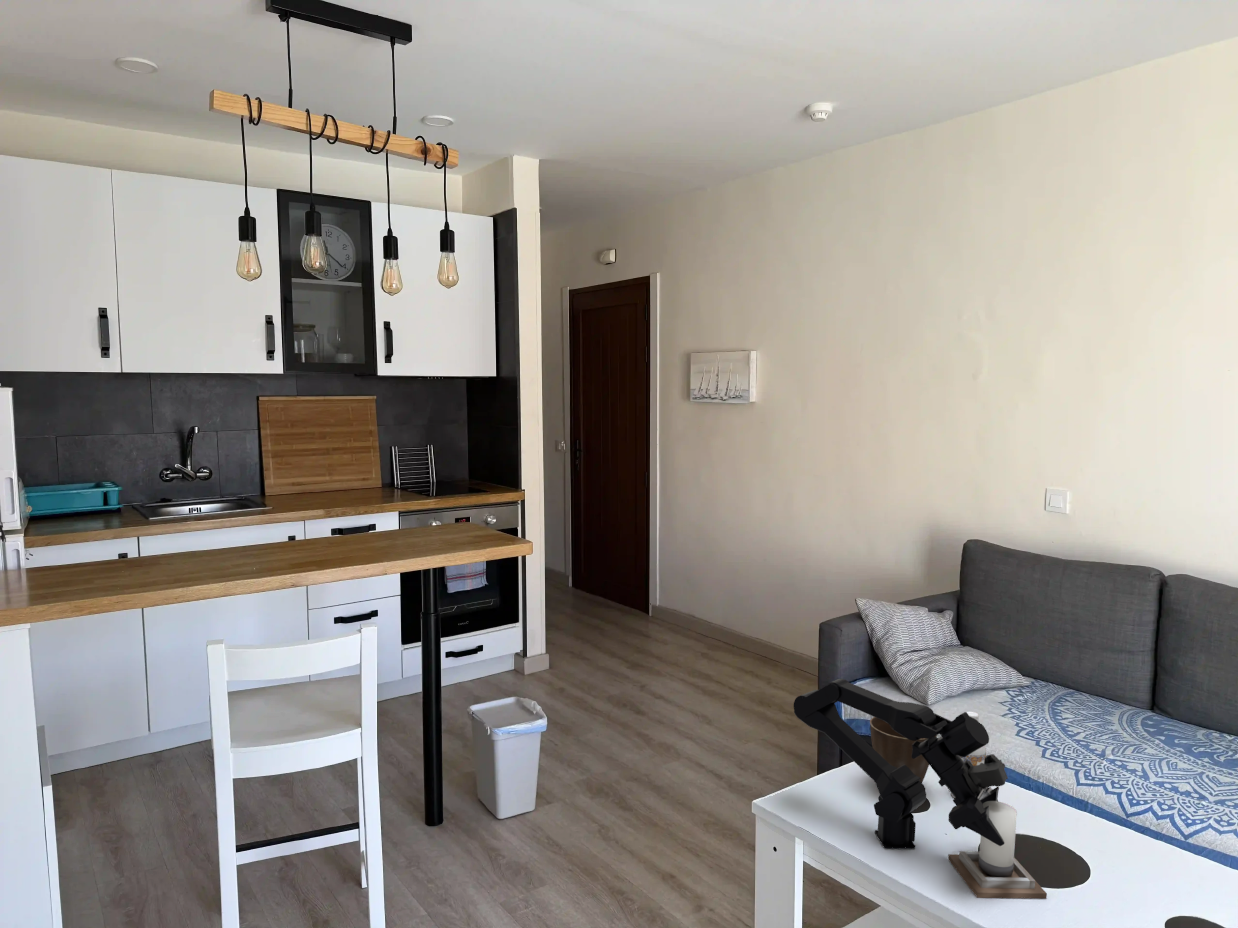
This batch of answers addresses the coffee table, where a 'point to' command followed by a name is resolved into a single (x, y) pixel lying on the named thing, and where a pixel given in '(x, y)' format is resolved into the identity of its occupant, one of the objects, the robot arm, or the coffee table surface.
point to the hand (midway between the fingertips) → (1005, 837)
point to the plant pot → (896, 748)
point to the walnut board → (995, 879)
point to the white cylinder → (1002, 857)
